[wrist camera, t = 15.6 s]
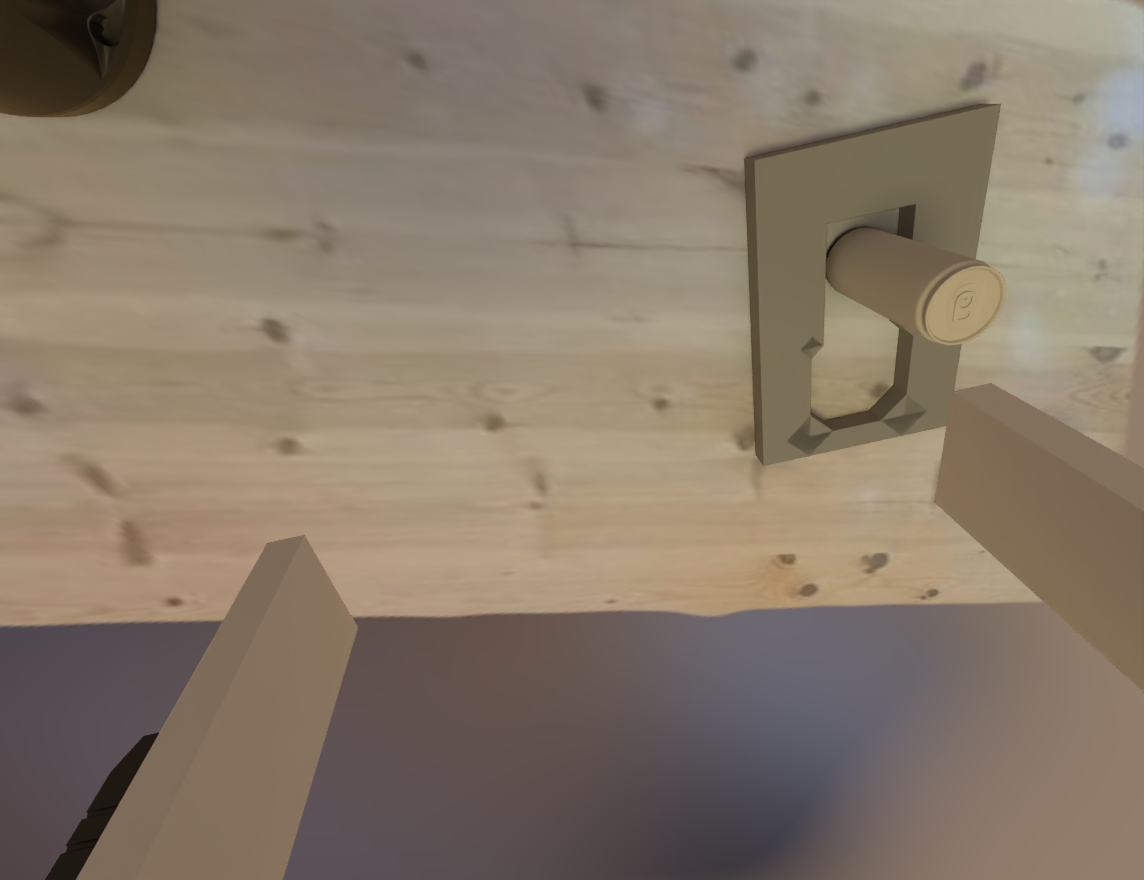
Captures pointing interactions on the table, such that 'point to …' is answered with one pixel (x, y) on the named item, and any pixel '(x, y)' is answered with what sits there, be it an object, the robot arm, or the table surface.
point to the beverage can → (917, 284)
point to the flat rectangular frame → (798, 267)
